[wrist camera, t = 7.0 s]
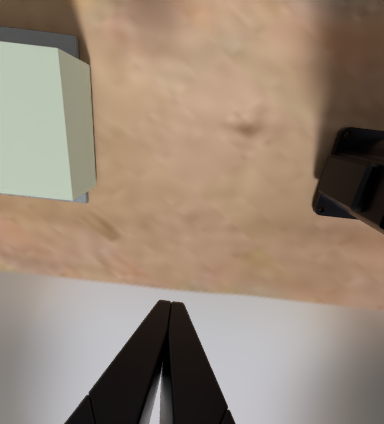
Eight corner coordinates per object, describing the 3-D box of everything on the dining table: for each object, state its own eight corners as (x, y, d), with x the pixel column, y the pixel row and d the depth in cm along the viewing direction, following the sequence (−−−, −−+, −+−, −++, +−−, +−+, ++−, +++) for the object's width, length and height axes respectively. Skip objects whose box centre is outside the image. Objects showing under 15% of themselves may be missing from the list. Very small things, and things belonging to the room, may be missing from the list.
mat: (77, 37, 14) (74, 35, 14) (88, 201, 18) (86, 203, 18) (-85, 17, 14) (-92, 14, 13) (-37, 187, 18) (-42, 189, 18)
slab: (57, 47, 11) (-108, 28, 11) (72, 200, 14) (-58, 187, 14) (89, 65, 14) (-38, 50, 14) (96, 186, 17) (-9, 174, 17)
